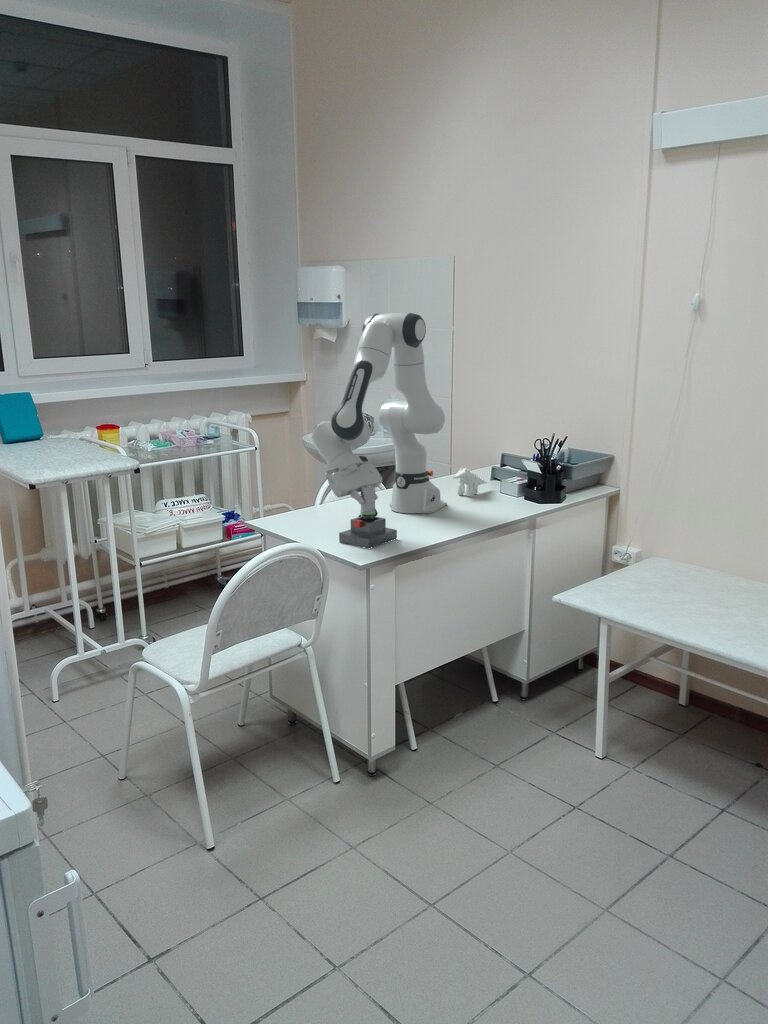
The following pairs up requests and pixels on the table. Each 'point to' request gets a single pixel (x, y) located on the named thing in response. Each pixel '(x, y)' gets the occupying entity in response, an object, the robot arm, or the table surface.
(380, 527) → the stand base
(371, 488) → the column
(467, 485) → the dinosaur statue
